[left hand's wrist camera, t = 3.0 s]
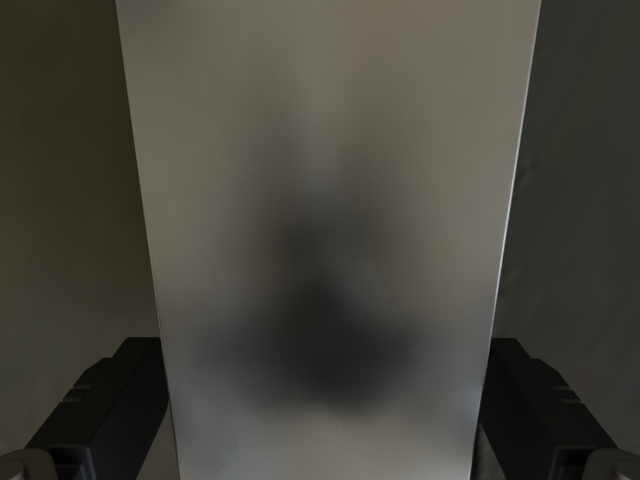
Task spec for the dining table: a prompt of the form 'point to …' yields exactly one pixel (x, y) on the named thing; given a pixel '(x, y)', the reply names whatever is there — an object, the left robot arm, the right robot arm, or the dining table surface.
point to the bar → (326, 224)
